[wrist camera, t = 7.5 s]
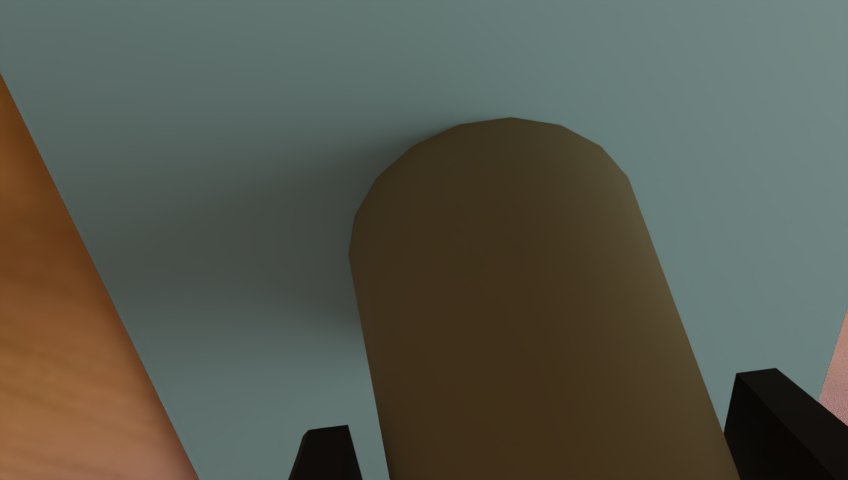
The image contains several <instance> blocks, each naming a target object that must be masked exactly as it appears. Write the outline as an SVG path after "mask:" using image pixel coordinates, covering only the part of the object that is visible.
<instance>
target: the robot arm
mask: <svg viewBox="0 0 848 480" xmlns="http://www.w3.org/2000/svg"><path fill="white" fill-rule="evenodd" d="M723 434H724V437H725V439H726V442H727V445H728V447H729V450H730V453H731V455H732V458H733V461H734V463H735V466H736V469H737V472H738V474H739V477H740V480H848V426H847V425H846V424H844V423H843V422H842V421H841V420H839V419H838V418H837V417H836V416H835V415H833V414H832V413H831V412H830V411H828V410H827V409H826V408H825V407H824V406H822V405H821V404H820V403H819V402H817V401H816V400H815V399H814V398H813V397H811V396H810V395H809V394H808V393H806V392H805V391H804V390H803V389H802V388H800V387H799V386H798V385H797V384H795V383H794V382H793V381H792V380H791V379H789V378H788V377H787V376H786V375H784V374H783V373H782V372H781V371H779V370H778V369H777V368H770V369H763V370H755V371H748V372H740V373H736V375H735V380H734V385H733V390H732V394H731V399H730V404H729V409H728V414H727V418H726V423H725V428H724V433H723ZM288 480H363V479H362V475H361V471H360V467H359V464H358V460H357V456H356V452H355V449H354V445H353V441H352V438H351V434H350V430H349V426H348V425H340V426H333V427H325V428H318V429H310V430H308V431H307V432H306V433H305V434H304V435H303V437H302V440H301V444H300V447H299V450H298V453H297V456H296V459H295V462H294V465H293V468H292V470H291V473H290V476H289V479H288Z"/></svg>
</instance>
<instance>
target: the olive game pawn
mask: <svg viewBox="0 0 848 480" xmlns="http://www.w3.org/2000/svg"><path fill="white" fill-rule="evenodd" d="M348 256H349V262H350V267H351V272H352V278H353V283H354V289H355V294H356V300H357V305H358V310H359V316H360V321H361V327H362V332H363V338H364V343H365V349H366V354H367V359H368V365H369V370H370V376H371V381H372V387H373V392H374V397H375V403H376V408H377V414H378V419H379V425H380V430H381V436H382V441H383V446H384V452H385V457H386V463H387V468H388V474H389V479H390V480H740V477H739V474H738V472H737V469H736V466H735V463H734V461H733V458H732V455H731V453H730V450H729V447H728V445H727V442H726V439H725V437H724V434H723V431H722V428H721V426H720V423H719V420H718V418H717V415H716V412H715V410H714V407H713V404H712V402H711V399H710V396H709V393H708V391H707V388H706V385H705V383H704V380H703V377H702V375H701V372H700V369H699V367H698V364H697V361H696V358H695V356H694V353H693V350H692V348H691V345H690V342H689V340H688V337H687V334H686V332H685V329H684V326H683V323H682V321H681V318H680V315H679V313H678V310H677V307H676V305H675V302H674V299H673V297H672V294H671V291H670V288H669V286H668V283H667V280H666V278H665V275H664V272H663V270H662V267H661V264H660V262H659V259H658V256H657V253H656V251H655V248H654V245H653V243H652V240H651V237H650V235H649V232H648V229H647V227H646V224H645V221H644V218H643V216H642V213H641V210H640V208H639V205H638V202H637V200H636V197H635V194H634V192H633V189H632V186H631V183H630V181H629V178H628V177H627V175H626V174H625V173H624V172H623V171H622V170H621V169H620V167H619V166H618V165H617V164H616V163H615V162H614V161H613V159H612V158H611V157H610V156H609V155H608V154H607V152H606V151H605V150H604V149H603V148H602V147H601V146H600V145H598V144H596V143H594V142H592V141H590V140H588V139H586V138H584V137H583V136H581V135H579V134H577V133H575V132H573V131H571V130H569V129H567V128H566V127H564V126H562V125H558V124H552V123H545V122H539V121H533V120H526V119H520V118H514V117H509V118H502V119H494V120H487V121H480V122H473V123H466V124H460V125H457V126H455V127H453V128H451V129H449V130H446V131H444V132H442V133H440V134H437V135H435V136H433V137H431V138H429V139H426V140H424V141H422V142H420V143H418V144H415V145H413V146H412V147H411V148H410V149H409V150H407V151H406V152H405V153H404V154H403V155H402V156H401V157H399V158H398V159H397V160H396V161H395V162H394V163H393V164H391V165H390V166H389V167H388V168H387V169H386V170H385V171H384V172H382V173H381V174H380V175H379V176H378V177H377V178H376V179H375V181H374V183H373V185H372V186H371V188H370V190H369V192H368V193H367V195H366V197H365V199H364V200H363V202H362V204H361V205H360V207H359V209H358V211H357V212H356V214H355V216H354V223H353V229H352V235H351V241H350V247H349V253H348Z"/></svg>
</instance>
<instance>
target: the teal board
mask: <svg viewBox="0 0 848 480" xmlns="http://www.w3.org/2000/svg"><path fill="white" fill-rule="evenodd" d="M0 73H1V75H2V77H3V80H4V82H5V84H6V86H7V88H8V90H9V92H10V94H11V96H12V98H13V100H14V102H15V104H16V106H17V108H18V110H19V112H20V114H21V116H22V118H23V120H24V122H25V124H26V127H27V129H28V131H29V133H30V135H31V137H32V139H33V141H34V143H35V145H36V147H37V149H38V151H39V153H40V155H41V157H42V159H43V161H44V163H45V165H46V167H47V169H48V172H49V174H50V176H51V178H52V180H53V182H54V184H55V186H56V188H57V190H58V192H59V194H60V196H61V198H62V200H63V202H64V204H65V206H66V208H67V210H68V212H69V214H70V216H71V219H72V221H73V223H74V225H75V227H76V229H77V231H78V233H79V235H80V237H81V239H82V241H83V243H84V245H85V247H86V249H87V251H88V253H89V255H90V257H91V259H92V261H93V264H94V266H95V268H96V270H97V272H98V274H99V276H100V278H101V280H102V282H103V284H104V286H105V288H106V290H107V292H108V294H109V296H110V298H111V300H112V302H113V304H114V306H115V308H116V311H117V313H118V315H119V317H120V319H121V321H122V323H123V325H124V327H125V329H126V331H127V333H128V335H129V337H130V339H131V341H132V343H133V345H134V347H135V349H136V351H137V353H138V355H139V358H140V360H141V362H142V364H143V366H144V368H145V370H146V372H147V374H148V376H149V378H150V380H151V382H152V384H153V386H154V388H155V390H156V392H157V394H158V396H159V398H160V400H161V403H162V405H163V407H164V409H165V411H166V413H167V415H168V417H169V419H170V421H171V423H172V425H173V427H174V429H175V431H176V433H177V435H178V437H179V439H180V441H181V443H182V445H183V447H184V450H185V452H186V454H187V456H188V458H189V460H190V462H191V464H192V466H193V468H194V470H195V472H196V474H197V476H198V478H199V480H288V479H289V476H290V473H291V470H292V468H293V465H294V462H295V459H296V456H297V453H298V450H299V447H300V444H301V440H302V437H303V435H304V434H305V433H306V432H307V431H308V430H310V429H318V428H325V427H333V426H340V425H348V426H349V430H350V434H351V438H352V441H353V445H354V449H355V452H356V456H357V460H358V464H359V467H360V471H361V475H362V479H363V480H390V479H389V474H388V468H387V463H386V457H385V452H384V446H383V441H382V436H381V430H380V425H379V419H378V414H377V408H376V403H375V397H374V392H373V387H372V381H371V376H370V370H369V365H368V359H367V354H366V349H365V343H364V338H363V332H362V327H361V321H360V316H359V310H358V305H357V300H356V294H355V289H354V283H353V278H352V272H351V267H350V262H349V256H348V253H349V247H350V241H351V235H352V229H353V223H354V216H355V214H356V212H357V211H358V209H359V207H360V205H361V204H362V202H363V200H364V199H365V197H366V195H367V193H368V192H369V190H370V188H371V186H372V185H373V183H374V181H375V179H376V178H377V177H378V176H379V175H380V174H381V173H382V172H384V171H385V170H386V169H387V168H388V167H389V166H390V165H391V164H393V163H394V162H395V161H396V160H397V159H398V158H399V157H401V156H402V155H403V154H404V153H405V152H406V151H407V150H409V149H410V148H411V147H412V146H413V145H415V144H418V143H420V142H422V141H424V140H426V139H429V138H431V137H433V136H435V135H437V134H440V133H442V132H444V131H446V130H449V129H451V128H453V127H455V126H457V125H460V124H466V123H473V122H480V121H487V120H494V119H502V118H509V117H514V118H520V119H526V120H533V121H539V122H545V123H552V124H558V125H562V126H564V127H566V128H567V129H569V130H571V131H573V132H575V133H577V134H579V135H581V136H583V137H584V138H586V139H588V140H590V141H592V142H594V143H596V144H598V145H600V146H601V147H602V148H603V149H604V150H605V151H606V152H607V154H608V155H609V156H610V157H611V158H612V159H613V161H614V162H615V163H616V164H617V165H618V166H619V167H620V169H621V170H622V171H623V172H624V173H625V174H626V175H627V177H628V178H629V181H630V183H631V186H632V189H633V192H634V194H635V197H636V200H637V202H638V205H639V208H640V210H641V213H642V216H643V218H644V221H645V224H646V227H647V229H648V232H649V235H650V237H651V240H652V243H653V245H654V248H655V251H656V253H657V256H658V259H659V262H660V264H661V267H662V270H663V272H664V275H665V278H666V280H667V283H668V286H669V288H670V291H671V294H672V297H673V299H674V302H675V305H676V307H677V310H678V313H679V315H680V318H681V321H682V323H683V326H684V329H685V332H686V334H687V337H688V340H689V342H690V345H691V348H692V350H693V353H694V356H695V358H696V361H697V364H698V367H699V369H700V372H701V375H702V377H703V380H704V383H705V385H706V388H707V391H708V393H709V396H710V399H711V402H712V404H713V407H714V410H715V412H716V415H717V418H718V420H719V423H720V426H721V428H722V431H723V433H724V428H725V423H726V418H727V414H728V409H729V404H730V399H731V394H732V390H733V385H734V380H735V375H736V373H740V372H748V371H755V370H763V369H770V368H777V369H778V370H779V371H781V372H782V373H783V374H784V375H786V376H787V377H788V378H789V379H791V380H792V381H793V382H794V383H795V384H797V385H798V386H799V387H800V388H802V389H803V390H804V391H805V392H806V393H808V394H809V395H810V396H811V397H813V398H814V399H815V400H816V401H817V402H818V400H819V397H820V394H821V390H822V387H823V384H824V381H825V378H826V375H827V371H828V368H829V365H830V362H831V359H832V356H833V353H834V349H835V346H836V343H837V340H838V337H839V334H840V330H841V327H842V324H843V321H844V318H845V315H846V312H847V308H848V0H0Z"/></svg>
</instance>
